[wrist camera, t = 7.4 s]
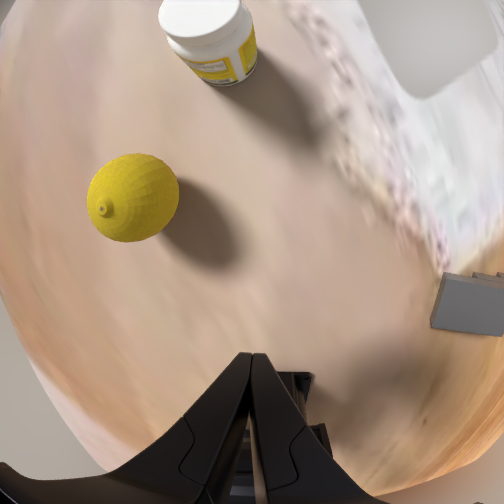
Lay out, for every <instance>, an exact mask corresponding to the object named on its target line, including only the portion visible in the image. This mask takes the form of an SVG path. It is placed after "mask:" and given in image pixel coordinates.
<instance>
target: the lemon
mask: <svg viewBox="0 0 504 504" xmlns="http://www.w3.org/2000/svg"><path fill="white" fill-rule="evenodd" d="M178 201H179V185H178V182H177V179H176V176H175V175H174V173H173V172H172V170H171V168H170V167H169V166H167V165H166V164H165V163H164V162H163V161H162V160H160V159H158V158H156V157H154V156H151V155H146V154H140V153H137V154H128V155H123V156H121V157H119V158H116V159H114V160H112V161H110V162H109V163H107V164H106V165H105V166H104V167H102V168H101V169H100V170H99V171H98V172H97V174H96V175H95V177H94V178H93V179H92V182H91V184H90V187H89V189H88V195H87V208H88V212H89V216H90V218H91V220H92V223H93V224H94V226H95V227H96V228H97V230H98V231H99V232H101V233H102V234H103V235H104V236H106V237H108V238H110V239H112V240H114V241H120V242H135V241H141V240H144V239H147V238H149V237H151V236H153V235H155V234H157V233H158V232H159V231H161V230H162V229H163V228H164V227H165V226H166V225H167V224H168V223H169V221H170V220H171V219H172V217H173V216H174V214H175V211H176V209H177V206H178Z"/></svg>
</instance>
